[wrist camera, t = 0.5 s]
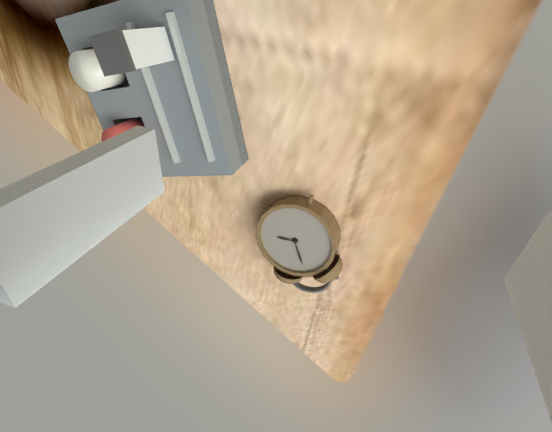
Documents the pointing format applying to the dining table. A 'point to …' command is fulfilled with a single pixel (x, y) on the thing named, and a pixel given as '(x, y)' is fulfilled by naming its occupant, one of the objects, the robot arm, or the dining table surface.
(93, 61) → the button cream
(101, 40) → the slider knob
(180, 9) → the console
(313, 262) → the alarm clock
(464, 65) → the dining table surface
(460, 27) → the dining table surface
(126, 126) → the button red
